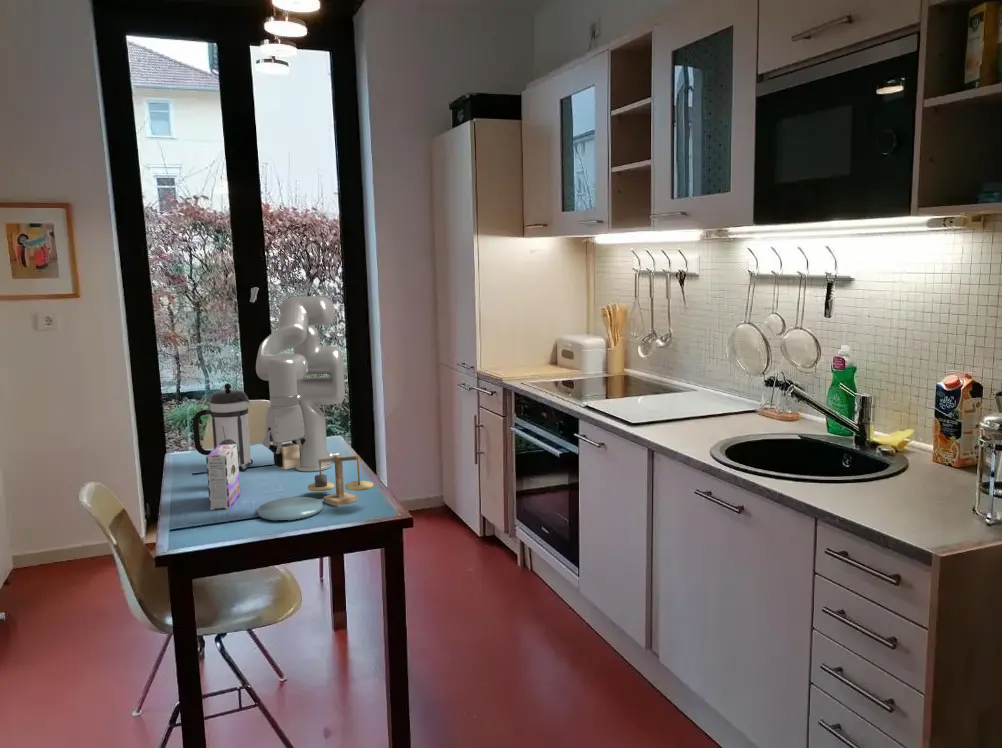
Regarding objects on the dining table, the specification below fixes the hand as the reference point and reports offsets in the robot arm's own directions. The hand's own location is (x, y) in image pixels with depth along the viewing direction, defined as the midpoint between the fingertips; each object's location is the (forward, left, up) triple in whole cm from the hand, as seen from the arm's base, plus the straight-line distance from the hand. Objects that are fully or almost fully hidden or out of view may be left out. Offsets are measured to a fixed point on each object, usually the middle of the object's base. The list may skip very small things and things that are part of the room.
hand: (287, 463), depth 221 cm
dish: (0, 0, -14) cm, 14 cm away
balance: (-15, +3, -14) cm, 21 cm away
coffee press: (-12, -59, -15) cm, 62 cm away
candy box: (+8, -23, -15) cm, 28 cm away
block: (0, 0, -1) cm, 1 cm away
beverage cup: (-1, -37, -15) cm, 40 cm away
